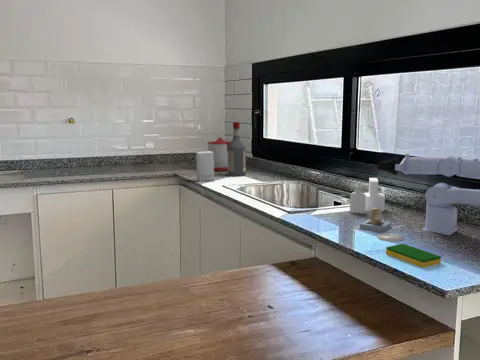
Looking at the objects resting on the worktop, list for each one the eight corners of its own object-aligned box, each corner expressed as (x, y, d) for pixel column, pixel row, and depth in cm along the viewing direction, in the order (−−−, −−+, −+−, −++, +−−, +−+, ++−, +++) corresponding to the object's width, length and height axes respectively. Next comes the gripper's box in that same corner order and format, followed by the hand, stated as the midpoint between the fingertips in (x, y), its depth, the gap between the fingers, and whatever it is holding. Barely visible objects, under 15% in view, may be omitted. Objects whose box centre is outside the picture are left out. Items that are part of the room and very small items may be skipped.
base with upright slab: (385, 212, 196) (386, 181, 194) (361, 211, 198) (362, 181, 196) (383, 207, 205) (384, 178, 203) (360, 206, 207) (361, 177, 205)
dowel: (382, 227, 173) (383, 208, 171) (378, 229, 170) (379, 210, 169) (372, 225, 175) (373, 207, 174) (368, 227, 172) (369, 209, 171)
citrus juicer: (226, 173, 296) (225, 138, 293) (202, 170, 306) (201, 137, 302) (240, 169, 309) (240, 136, 306) (217, 167, 319) (217, 135, 315)
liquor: (230, 177, 281) (230, 123, 276) (227, 174, 290) (226, 122, 285) (246, 176, 284) (246, 122, 279) (242, 173, 292) (242, 121, 287)
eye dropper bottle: (356, 211, 198) (356, 181, 196) (366, 213, 194) (367, 183, 192) (347, 212, 196) (348, 182, 194) (358, 215, 191) (359, 184, 189)
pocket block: (397, 228, 173) (398, 222, 172) (386, 234, 165) (387, 229, 164) (364, 223, 180) (365, 217, 179) (352, 229, 172) (352, 223, 172)
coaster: (406, 238, 161) (406, 235, 161) (397, 244, 155) (397, 241, 155) (382, 234, 166) (382, 231, 166) (372, 239, 159) (372, 237, 159)
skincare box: (211, 179, 275) (210, 150, 272) (214, 181, 268) (214, 152, 266) (196, 180, 272) (195, 151, 269) (199, 182, 266) (198, 152, 263)
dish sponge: (402, 251, 149) (403, 243, 149) (441, 264, 137) (441, 256, 137) (384, 254, 146) (385, 246, 146) (422, 269, 134) (423, 260, 134)
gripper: (427, 152, 175) (389, 151, 183) (414, 155, 163) (373, 155, 171) (427, 172, 175) (389, 171, 183) (414, 177, 164) (374, 175, 172)
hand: (381, 164), depth 177 cm, fingers open, 7 cm apart
